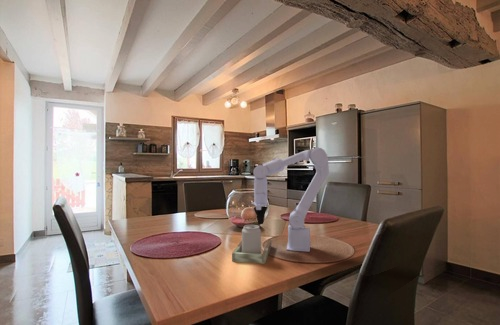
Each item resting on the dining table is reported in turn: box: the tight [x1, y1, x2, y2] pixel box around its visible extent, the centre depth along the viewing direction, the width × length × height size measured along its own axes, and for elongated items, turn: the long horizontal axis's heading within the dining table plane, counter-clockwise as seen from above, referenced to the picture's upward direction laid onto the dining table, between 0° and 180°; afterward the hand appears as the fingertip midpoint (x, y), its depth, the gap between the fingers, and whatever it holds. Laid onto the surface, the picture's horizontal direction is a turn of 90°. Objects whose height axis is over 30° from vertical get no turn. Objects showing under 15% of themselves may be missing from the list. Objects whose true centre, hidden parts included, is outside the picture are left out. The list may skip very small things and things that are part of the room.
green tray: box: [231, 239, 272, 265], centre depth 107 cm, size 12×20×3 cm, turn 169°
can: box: [241, 224, 262, 254], centre depth 103 cm, size 8×8×12 cm
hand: (260, 223), depth 116 cm, fingers closed
